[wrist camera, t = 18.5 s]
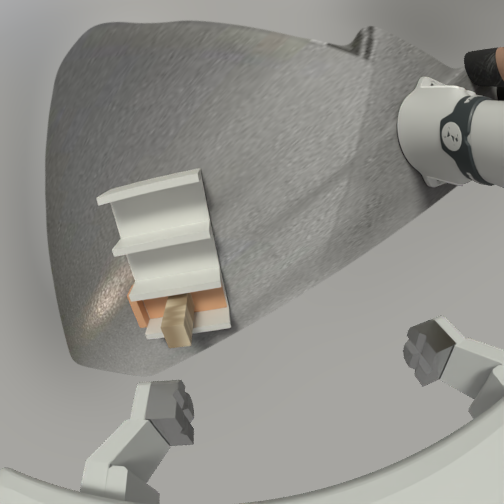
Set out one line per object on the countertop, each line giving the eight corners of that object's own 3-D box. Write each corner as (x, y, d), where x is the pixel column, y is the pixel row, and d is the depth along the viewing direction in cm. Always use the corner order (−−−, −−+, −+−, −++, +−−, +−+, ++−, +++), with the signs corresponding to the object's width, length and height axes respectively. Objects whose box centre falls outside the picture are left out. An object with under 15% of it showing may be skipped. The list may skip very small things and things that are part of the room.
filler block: (188, 286, 41) (183, 324, 33) (194, 306, 42) (191, 345, 34) (169, 289, 41) (160, 327, 32) (176, 308, 42) (169, 348, 34)
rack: (200, 168, 35) (197, 173, 31) (229, 308, 45) (231, 327, 40) (102, 191, 35) (88, 200, 30) (146, 320, 44) (140, 340, 39)
